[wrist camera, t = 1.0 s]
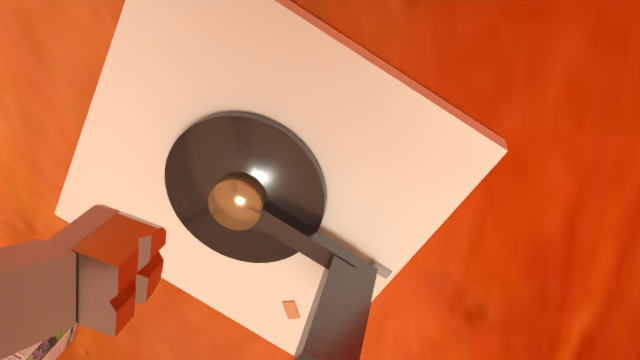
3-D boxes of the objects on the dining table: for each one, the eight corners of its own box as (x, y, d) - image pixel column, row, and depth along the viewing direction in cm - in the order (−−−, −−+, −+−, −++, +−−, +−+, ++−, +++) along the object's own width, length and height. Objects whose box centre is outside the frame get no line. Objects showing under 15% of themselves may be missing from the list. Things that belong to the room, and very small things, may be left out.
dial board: (67, 203, 54) (52, 215, 52) (165, -81, 38) (149, -79, 36) (316, 352, 56) (311, 368, 54) (505, 140, 40) (508, 152, 38)
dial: (149, 201, 48) (56, 296, 37) (207, 77, 41) (112, 148, 30) (334, 312, 50) (298, 437, 38) (421, 212, 42) (408, 328, 31)
